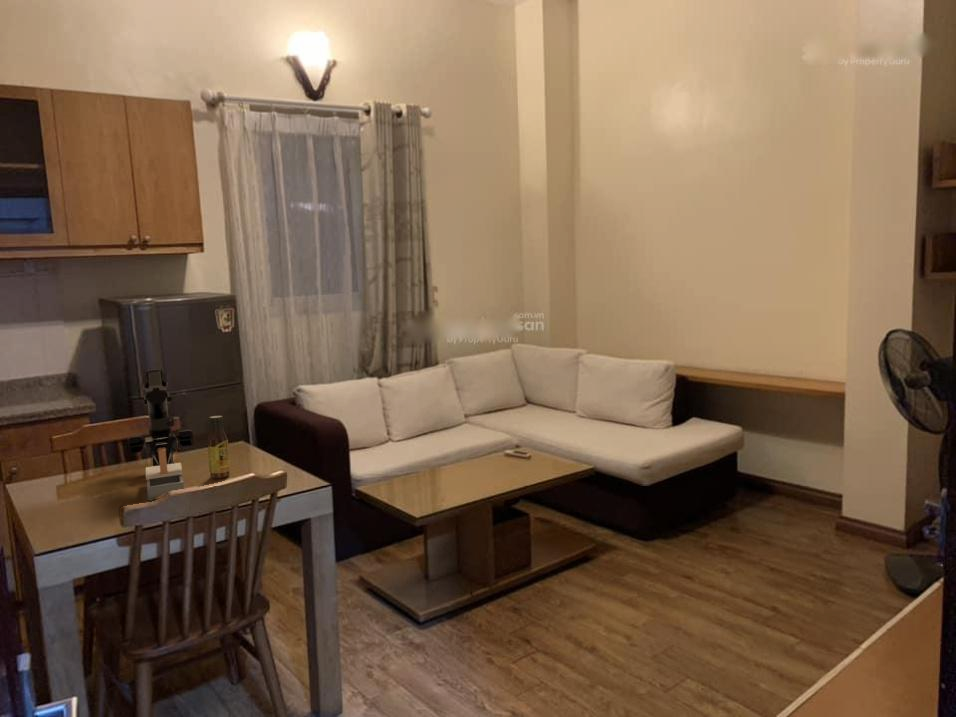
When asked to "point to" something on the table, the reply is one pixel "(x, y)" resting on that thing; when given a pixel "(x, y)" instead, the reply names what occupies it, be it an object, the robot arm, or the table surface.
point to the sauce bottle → (218, 449)
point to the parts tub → (163, 485)
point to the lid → (163, 467)
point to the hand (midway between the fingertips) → (163, 464)
